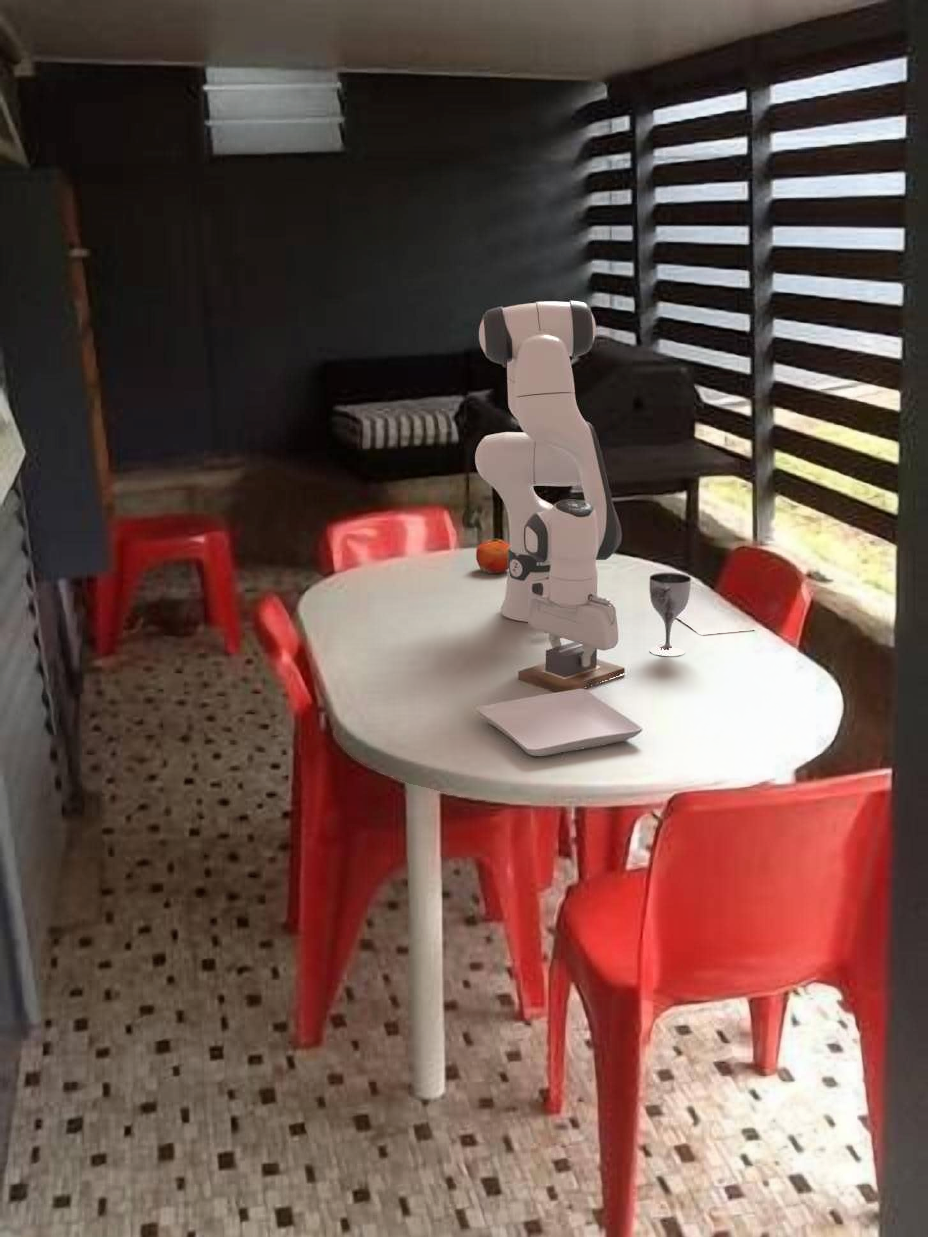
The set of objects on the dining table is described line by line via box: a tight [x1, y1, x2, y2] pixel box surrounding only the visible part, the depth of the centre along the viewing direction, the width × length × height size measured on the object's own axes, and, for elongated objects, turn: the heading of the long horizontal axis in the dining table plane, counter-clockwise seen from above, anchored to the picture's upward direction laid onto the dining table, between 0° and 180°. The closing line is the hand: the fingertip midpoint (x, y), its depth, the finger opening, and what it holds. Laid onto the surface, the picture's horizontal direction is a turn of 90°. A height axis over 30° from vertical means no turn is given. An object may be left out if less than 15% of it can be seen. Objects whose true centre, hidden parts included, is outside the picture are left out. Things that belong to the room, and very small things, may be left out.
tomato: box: [475, 538, 510, 574], centre depth 327 cm, size 9×9×8 cm
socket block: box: [545, 641, 598, 677], centre depth 254 cm, size 8×5×4 cm, turn 132°
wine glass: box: [648, 572, 692, 650], centre depth 267 cm, size 8×8×15 cm
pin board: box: [517, 658, 626, 693], centre depth 254 cm, size 16×12×4 cm
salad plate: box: [475, 688, 643, 757], centre depth 227 cm, size 21×21×3 cm
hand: (571, 661), depth 254 cm, fingers closed on socket block, 5 cm apart
